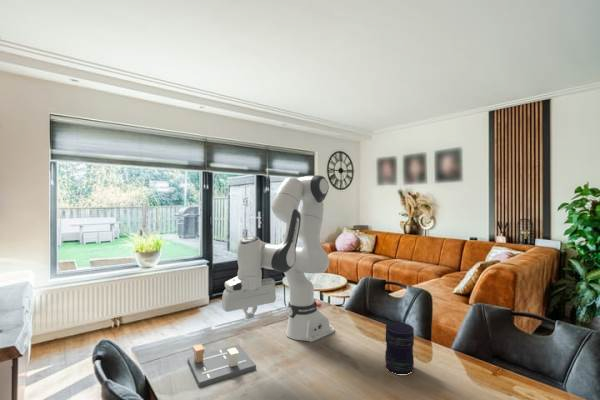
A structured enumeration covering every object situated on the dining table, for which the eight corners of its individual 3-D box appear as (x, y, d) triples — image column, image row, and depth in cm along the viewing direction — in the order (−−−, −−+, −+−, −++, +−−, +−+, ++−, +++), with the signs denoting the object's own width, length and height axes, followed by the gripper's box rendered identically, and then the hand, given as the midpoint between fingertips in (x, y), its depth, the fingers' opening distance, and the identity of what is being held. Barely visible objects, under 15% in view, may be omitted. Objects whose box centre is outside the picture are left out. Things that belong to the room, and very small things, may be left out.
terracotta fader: (201, 355, 118) (201, 343, 118) (204, 361, 114) (204, 348, 114) (193, 358, 117) (193, 345, 117) (195, 363, 113) (195, 351, 113)
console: (238, 347, 128) (238, 343, 128) (255, 369, 113) (255, 364, 113) (187, 361, 118) (187, 357, 118) (199, 387, 103) (199, 382, 103)
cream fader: (234, 359, 116) (234, 347, 116) (239, 365, 112) (239, 352, 112) (227, 361, 114) (226, 349, 114) (230, 367, 110) (230, 354, 110)
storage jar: (399, 378, 107) (399, 335, 107) (379, 364, 116) (379, 324, 116) (419, 371, 112) (420, 330, 111) (399, 358, 121) (399, 319, 120)
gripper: (271, 275, 124) (271, 310, 124) (220, 283, 113) (220, 320, 114) (278, 279, 118) (278, 315, 119) (225, 287, 108) (225, 327, 108)
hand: (249, 318), depth 116 cm, fingers closed
